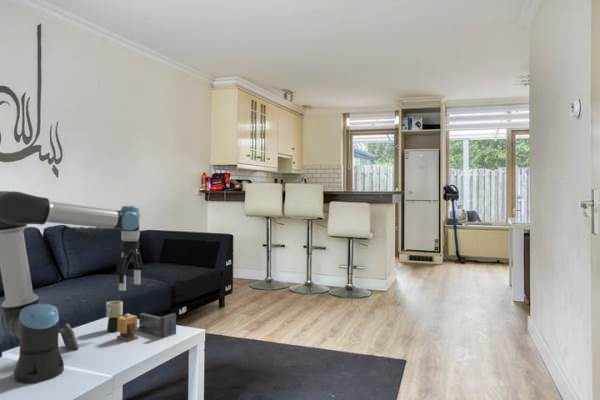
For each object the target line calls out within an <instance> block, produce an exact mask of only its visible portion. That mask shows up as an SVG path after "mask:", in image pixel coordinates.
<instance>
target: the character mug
mask: <svg viewBox="0 0 600 400" xmlns="http://www.w3.org/2000/svg"><path fill="white" fill-rule="evenodd" d="M123 305H124V303H123V301H122V300H111V301H107V302H106V303H105V309H106V313H105V316H106V317H107V318H108V319H107V320H108V321H107V328H106V331H108V332H109V331H111V332H114V331H117V318H119V317H122V316H123V315H124V314H123V310H124V308H123Z"/></svg>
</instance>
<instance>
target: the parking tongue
mask: <svg viewBox="0 0 600 400" xmlns="http://www.w3.org/2000/svg"><path fill="white" fill-rule="evenodd" d="M119 333H120V334H119V335H117V336H116V339H118V340H121V341H123V342H124V341H125V342H127V343H129V342H132V341H134V340H135V341H136V340H138V339H139V336H138V335H135V330H134V323H131V324H128V325H127V333H125V334H124V333H121V332H119Z"/></svg>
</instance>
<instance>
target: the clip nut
mask: <svg viewBox="0 0 600 400" xmlns="http://www.w3.org/2000/svg"><path fill="white" fill-rule="evenodd" d="M131 323H134V331H135V330H137V327H138V316H137V315H133V314H130V313H125V314H124V315H122V316H120V317H119V318H117V330H116V332H118V333H120V332H121V333H124V334H125V333H127V325H128V324H131Z"/></svg>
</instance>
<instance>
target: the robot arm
mask: <svg viewBox="0 0 600 400" xmlns="http://www.w3.org/2000/svg"><path fill="white" fill-rule="evenodd" d="M139 207H140V206H138V205H123V206H121V209H120V210H116V209H112V208H111V209H109V208H101V207H95V206H88V205H81V204H80V205H79V204H72V203H67V202H66V203H65V202H59V201H57V202H56V201H51V200H50V198H47V197H44V196H43V197H42V196H37V195H33V194H29V193H26V192H21V191H14V190H13V191H6V190H5V191H4V190H2V191H0V274H1V279H2V281H1V282H2V285H3V290H4V291H3V292H4V298H5V299H4V301H3V302H2V303H1V309H2V310H1V311H2V312H1V313H0V325H1V328H2V329H3V330H4V331H5V332H6V333H7V334H8V335H10V336H12V337H14V338H15V337H16V339H17V338H18V339H19V356H18V360H17V362H16V365H15V366H14V367H15V368H14V370H13V380H14V381H15V382H17V383H21V384H22V383H23V384H25V383H27V384H30V383H39V382H43V381H46V380H49V379H53V378H55V377H58V376H59V375H61V374H62V373H63V372H64V370H65V363H64V360H63V357H62V355H61V353H60V349H59V319H60V316H59V310H58V308H57V307H56V306H54V305H52V304H49V303H47V304H45V303H40V297H39V295H37V294H35V293H34V290H33V285H32V284H33V283H32V278H31V272H30V271H31V270H30V266H29V260H28V253H27V248H26V241H25V234H24V230H25V229H26V228H27V227H28V225H41V226H43V225H45V224H46V223H50V224H60V225H61V224H63V225H73V226H83V227H91V228H92V227H94V228H96V229H101V230H102V229H104V230H105V229H113V230H120V232H121V235H120V236H121V237H120V238H121V239H120V240H121V242H120V248H121V250H124V251H123V252H119V260H118V263H117V267H116V272H115V276H117V277H118V291H120V292H121V291H123V292H124V291H125V292H126V289H127V288H126V287H127V286H126V285H127V284H126V281H127V279H126V277H127V276H126V273H127V270H128V267H129V264H130V263H132V265H133V268H134V270H133V285H141V271H142V270H143V269H144V264H143V261H142V256H141V249H139V248H140V235H141V233H140V216H141V215H140V208H139Z"/></svg>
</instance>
